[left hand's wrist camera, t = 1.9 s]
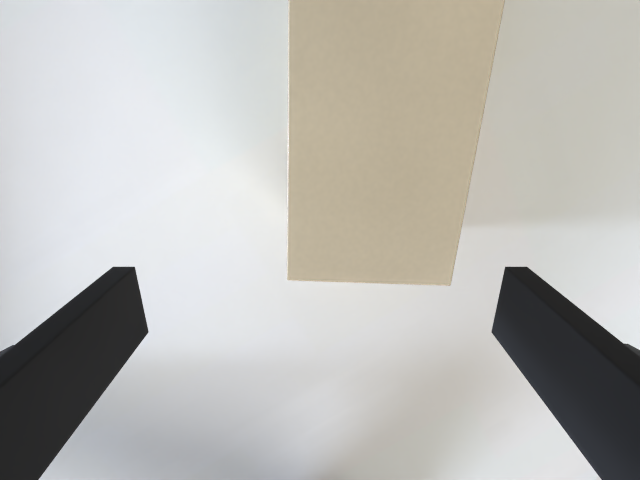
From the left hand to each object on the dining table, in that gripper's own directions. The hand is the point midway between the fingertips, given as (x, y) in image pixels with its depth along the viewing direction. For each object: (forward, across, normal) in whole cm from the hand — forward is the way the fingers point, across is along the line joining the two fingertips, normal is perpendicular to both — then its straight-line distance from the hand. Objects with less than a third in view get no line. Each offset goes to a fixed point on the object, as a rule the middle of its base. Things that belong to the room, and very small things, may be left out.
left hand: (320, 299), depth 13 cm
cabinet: (+19, -3, -6) cm, 20 cm away
